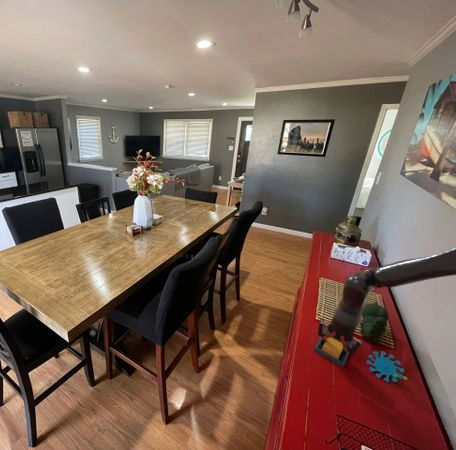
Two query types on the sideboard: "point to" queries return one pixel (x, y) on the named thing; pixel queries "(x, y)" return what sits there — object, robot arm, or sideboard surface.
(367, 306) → the green broccoli
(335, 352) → the pad
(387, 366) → the blue virus toy
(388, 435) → the sideboard surface
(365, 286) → the robot arm
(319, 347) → the backing tray
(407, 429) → the sideboard surface
